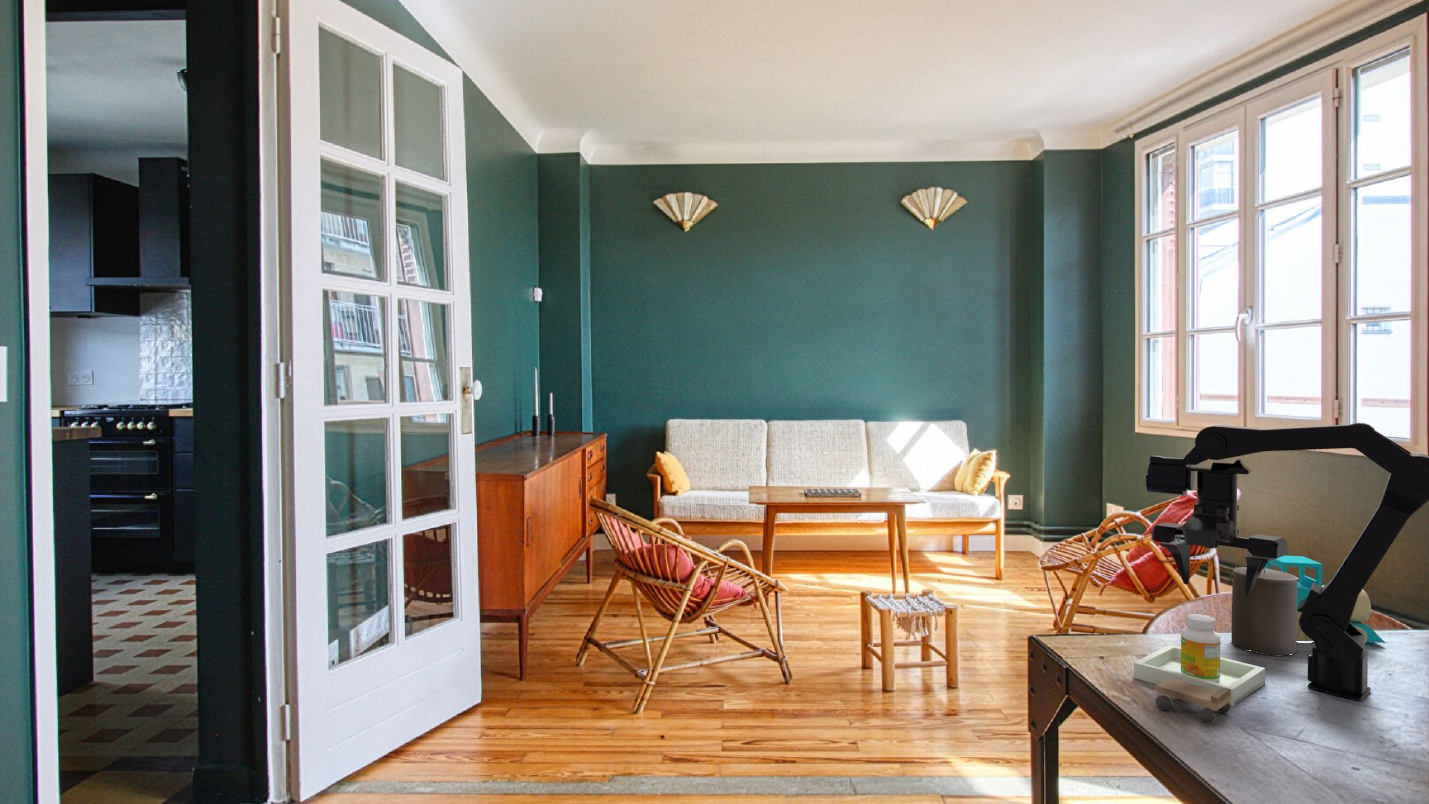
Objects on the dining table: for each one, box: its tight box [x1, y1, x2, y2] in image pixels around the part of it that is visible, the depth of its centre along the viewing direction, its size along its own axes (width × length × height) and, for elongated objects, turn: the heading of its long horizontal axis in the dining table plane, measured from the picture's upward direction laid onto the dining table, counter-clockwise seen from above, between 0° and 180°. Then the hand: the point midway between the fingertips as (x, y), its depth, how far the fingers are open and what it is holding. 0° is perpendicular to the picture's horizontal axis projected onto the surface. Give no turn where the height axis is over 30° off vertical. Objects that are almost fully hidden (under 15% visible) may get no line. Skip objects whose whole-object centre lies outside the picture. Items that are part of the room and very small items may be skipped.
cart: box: [1154, 678, 1232, 725], centre depth 110 cm, size 8×7×4 cm
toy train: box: [1265, 555, 1386, 645], centre depth 141 cm, size 8×17×15 cm, turn 78°
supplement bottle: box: [1180, 613, 1221, 682], centre depth 121 cm, size 5×5×10 cm
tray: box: [1133, 644, 1266, 707], centre depth 121 cm, size 14×14×2 cm
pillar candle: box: [1230, 566, 1299, 656], centre depth 137 cm, size 10×10×15 cm
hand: (1215, 589), depth 128 cm, fingers open, 9 cm apart
